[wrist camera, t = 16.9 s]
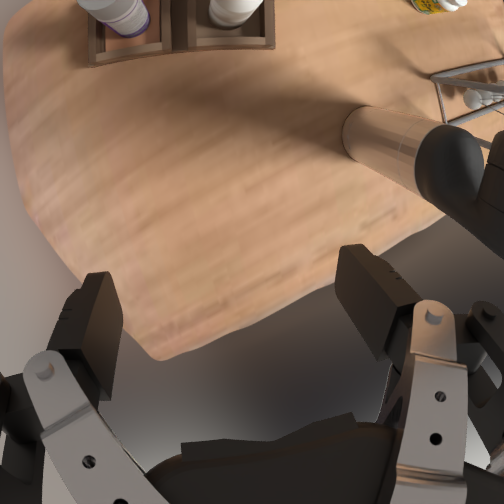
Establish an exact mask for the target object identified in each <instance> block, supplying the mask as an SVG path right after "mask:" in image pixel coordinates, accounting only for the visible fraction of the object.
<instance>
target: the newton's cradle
mask: <svg viewBox="0 0 504 504" xmlns="http://www.w3.org/2000/svg"><path fill="white" fill-rule="evenodd" d="M503 64H504V59H502V60H496V61H491V62H486V63H481V64H476V65H471V66H467V67H462V68H458V69H454V70H450V71H446V72H442V73H438V74H434V75H432V76H431V77H430V79H431V81H432V82H434V83H437V87H438V91H439V95H440V99H441V104H442V109H443V113H444V119H445V124H449V125H452V126H457V125H460V124H462V123H465V122H467V121H470V120H472V119H475V118H477V117H480V116H482V115H485V114H487V113H490V112H492V111H497V109H500V108H502V107H504V101H503V102H501V103H500V102H498V101H500V100H501V99H504V81H502V80H500V81H498V82H497V83H496V84H495V83H490V84H487V83H481V82H475V81H469V80H461V79H454V78H447V77H451V76H455V75H459V74H463V73H467V72H471V71H475V70H480V69H484V68H489V67H493V66H498V65H503ZM439 83H441V84H448V85H455V86H462V87H468V88H474V89H476V90H473V89H469V90H467V91H465V93H464V95H463V100H464V103H465V105H466V106H467V107H468V108H470V109H473V110H476V109H479V108H480V107H481V105H485V106H487V105H490V104H491V103H492V101H494V102H498V104H495V105H492V106H490V107H489V106H487V108H484V109H482V110H479V111H477V112H474V113H471V114H469V115H466V116H464V117H461V118H459V119H456V120H453V121H451V122H448V123H447V119H446V113H445V108H444V104H443V99H442V95H441V90H440V86H439ZM497 112H499V111H497ZM499 113H501V112H499ZM501 114H503V113H501ZM503 115H504V114H503ZM475 139H476V140H477V142H478V143H479V145H480V146H482V147H484V148H487V149H489V150H490V148H491V145H492V143H490V142H488V141H485V140H482V139H480V138H477V137H475Z"/></svg>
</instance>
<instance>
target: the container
mask: <svg viewBox="0 0 504 504" xmlns="http://www.w3.org/2000/svg"><path fill="white" fill-rule="evenodd" d="M77 2H78V4H79V5H80V6H81V7H82V8H83V9H85V10H86V11H87V12H88V13H90V14H91V15H92V16H93V17H95V18H96V19H97V20H98V21H100V22H101V23H103V24H104V25H106V26H107V27H108V28H110V29H111V30H113V31H114V32H115V33H117V34H118V35H120V36H121V37H124V38H135V37H138V36H140V35H141V34H143V33H144V32H145V31H146V30H147V28H148V27H149V25H150V21H151V18H150V14H149V12H148V10H147V8H146V6H145V5H144V3H143V1H142V0H77Z"/></svg>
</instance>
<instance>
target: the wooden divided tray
mask: <svg viewBox="0 0 504 504" xmlns="http://www.w3.org/2000/svg"><path fill="white" fill-rule="evenodd" d="M142 1H143V3H144V5H145V6H146V8H147V10H148V12H149V14H150V18H151V21H150V25H149V27H148V28H147V30H146V31H145V32H144V33H143V34H141V35H140V36H138V37H135V38H124V37H121V36H120V35H118V34H117V33H115V32H114V31H113V30H111V29H110V28H108V27H107V26H106V25H104V24H103V23H101V22H100V21H98V20H97V19H96V18H95V17H93V16H92V15H91V14H90V13H88V61H89V67H92V68H93V67H97V66H101V65H106V64H110V63H115V62H120V61H126V60H131V59H137V58H143V57H150V56H157V55H164V54H173V53H182V52H194V51H209V50H235V49H260V50H273V49H275V10H274V0H142Z"/></svg>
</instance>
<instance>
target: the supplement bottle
mask: <svg viewBox="0 0 504 504" xmlns="http://www.w3.org/2000/svg"><path fill="white" fill-rule="evenodd" d="M411 2H412V4H413V5H414V7H415V8H416V9H417V10H418V11H419V12H421V13H423V14H435V13H442V12H451V11H455V10H457V9H458V7H460V6H465V5H466V4H467V0H411Z"/></svg>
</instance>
